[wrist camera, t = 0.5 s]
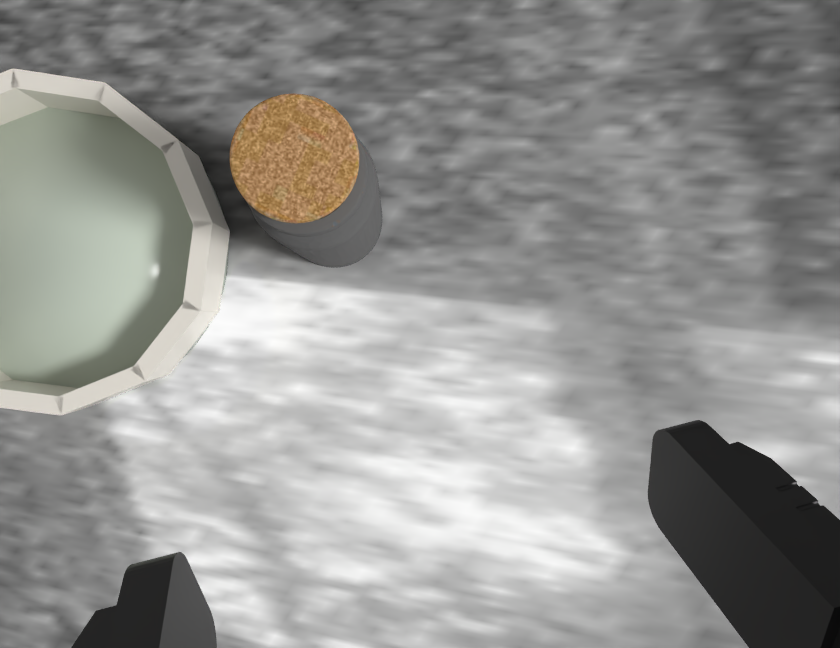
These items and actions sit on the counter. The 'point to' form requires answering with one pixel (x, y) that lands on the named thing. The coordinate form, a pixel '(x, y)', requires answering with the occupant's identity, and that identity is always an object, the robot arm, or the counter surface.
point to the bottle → (308, 179)
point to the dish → (98, 245)
